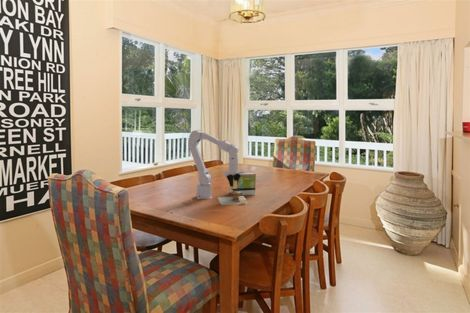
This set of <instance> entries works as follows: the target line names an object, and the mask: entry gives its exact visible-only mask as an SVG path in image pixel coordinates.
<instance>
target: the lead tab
mask: <svg viewBox="0 0 470 313" xmlns="http://www.w3.org/2000/svg"><path fill="white" fill-rule="evenodd" d="M231 188H232V189H236V188H237V180H233V187H231V186H230V189H231Z"/></svg>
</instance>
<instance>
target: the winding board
mask: <svg viewBox="0 0 470 313" xmlns="http://www.w3.org/2000/svg"><path fill="white" fill-rule="evenodd" d="M230 194H232V196H221V197H219V196H218V197H217V200H218V201H219V203H220V205H221V206H226V205H227V206H228V205H229V206H230V205H249V203H248V202H247V198H245V195H239V194H241V192H240V191H232V192H230Z"/></svg>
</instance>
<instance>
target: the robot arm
mask: <svg viewBox="0 0 470 313" xmlns="http://www.w3.org/2000/svg"><path fill="white" fill-rule="evenodd" d="M188 137H189V140H188V148H189V151H190V154H191V156H192V159H193V162H194V164H195V166H196V169H197V172H198V174H197V175H198V182H199V184H196V193H195V195H196V199H197V200H200V199H203V200H204V199H213V196H212V183H211V181H212V178H213V177H212V175H211V174H210V172H209V170H208V169H207V168H206V165H205V163H204V160H203V157H202V155H201V152H200V150H199V147H198V145H199V143H200V142H201V141H202V140H207V141H208V142H210V143H212V144H215V145H216V146H217V148H218V149H220V150H222V151H224V152H225V153H228V171H225V172H223V175H222V176H223V177H226V179H227V181H228V184H229V187H230V188H231V187H233V179H234V180H237V184H238V181H239V178H240V177H241V175H240V174H243V172H244V170H242V169H241V170H239V156H238V153H239V146H237V145H233V143H230V142H227V140H226V139H218V138H217V137H215V136H213V135H211V134H209V133H207V132H206V131H202V130H200V129H197V130H196V129H195V130H192V131H191V132H190V134H189V136H188ZM232 175H233V176H232Z"/></svg>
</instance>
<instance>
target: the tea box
mask: <svg viewBox="0 0 470 313" xmlns="http://www.w3.org/2000/svg"><path fill="white" fill-rule="evenodd" d="M240 175H241V177H240V178H239V181H238V184H237V188H236V189H232V188H231V187H230V190H229V191H230V192H229V193H231V192H232V191H240V192H241V194H239V196H248V195H249V196H255V195H256V178H257V175H256V173H254V172H253V171H243V174H240ZM232 176H233V175H232ZM233 180H234V179H233Z"/></svg>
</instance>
